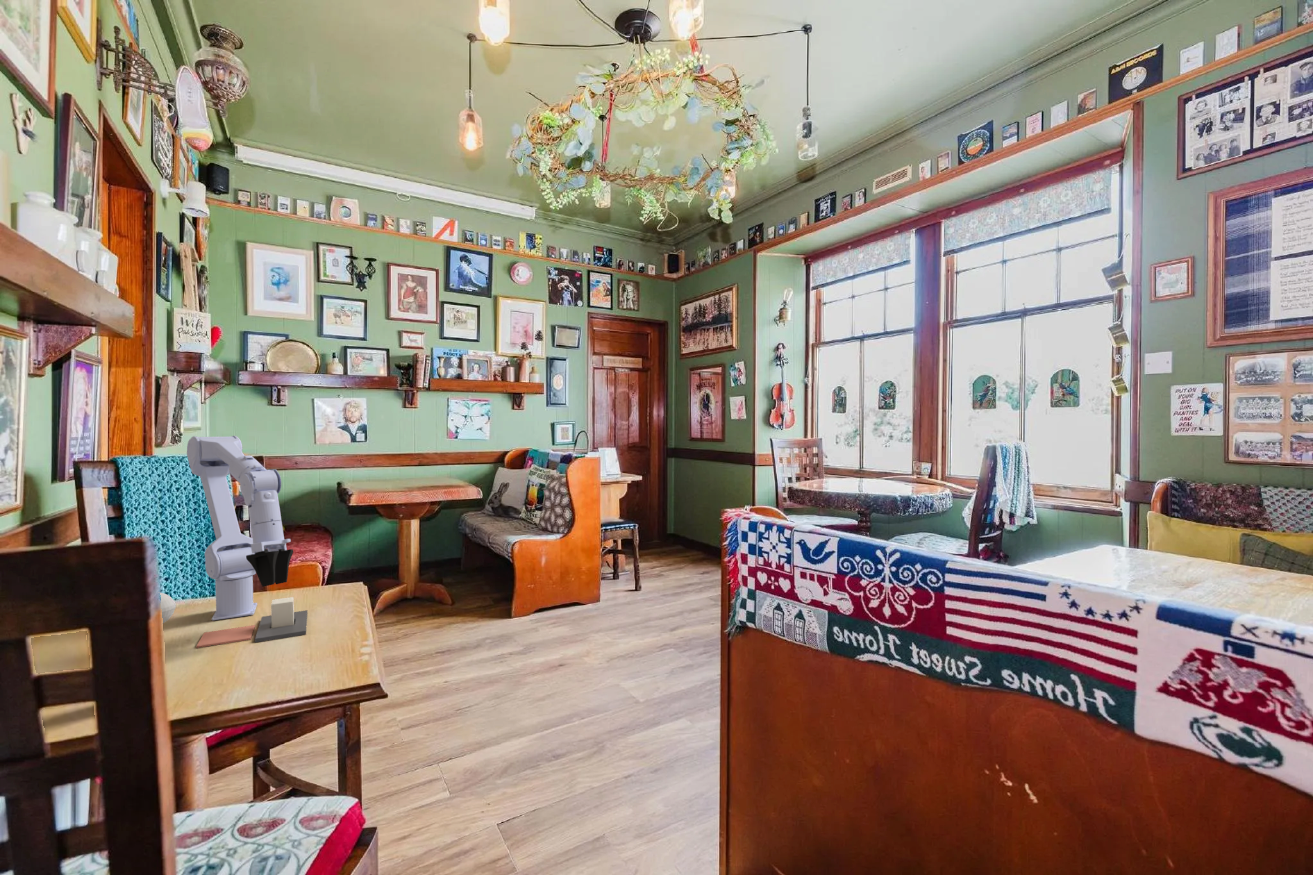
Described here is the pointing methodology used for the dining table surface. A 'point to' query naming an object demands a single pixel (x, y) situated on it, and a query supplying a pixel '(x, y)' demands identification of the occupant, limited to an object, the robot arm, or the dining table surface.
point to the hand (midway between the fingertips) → (275, 584)
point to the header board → (281, 628)
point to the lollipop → (167, 606)
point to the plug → (282, 612)
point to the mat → (226, 636)
